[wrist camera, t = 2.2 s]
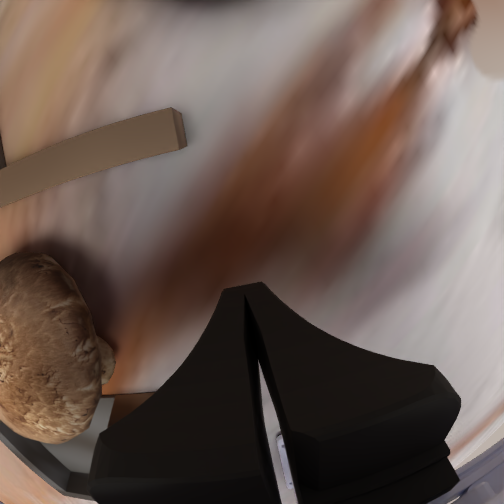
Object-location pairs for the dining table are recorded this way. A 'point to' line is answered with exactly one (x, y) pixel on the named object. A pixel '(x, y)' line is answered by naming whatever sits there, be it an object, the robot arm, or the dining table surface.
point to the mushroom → (47, 351)
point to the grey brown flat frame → (49, 175)
